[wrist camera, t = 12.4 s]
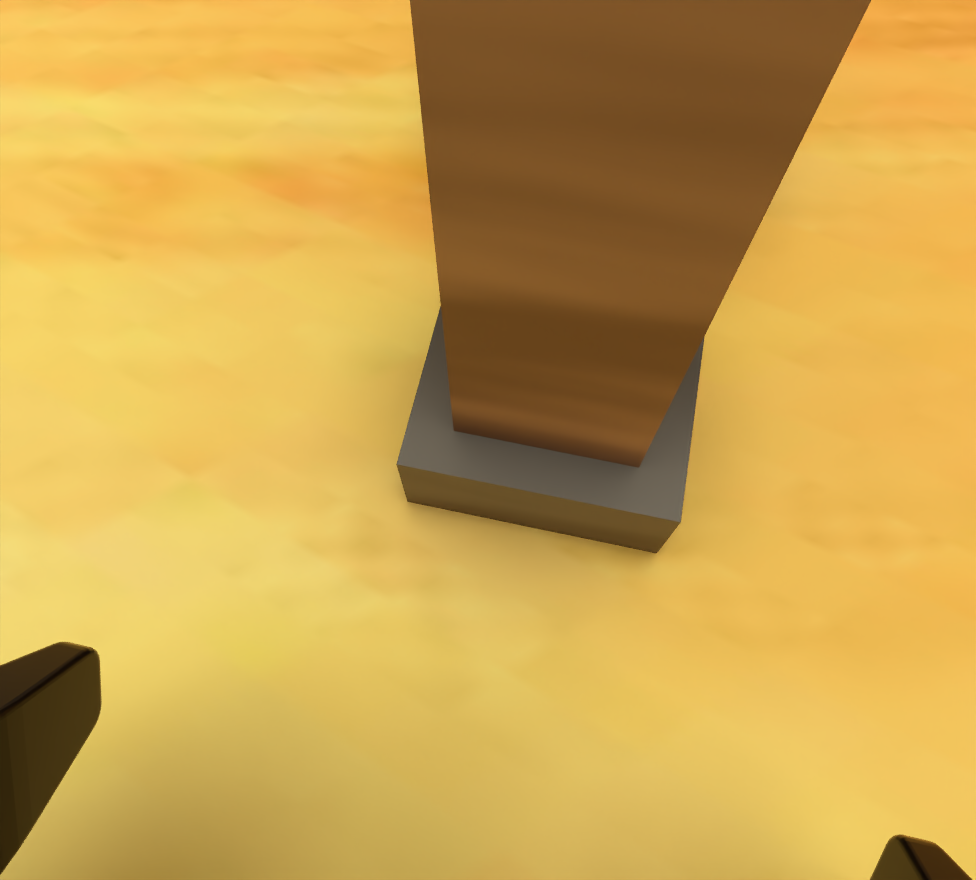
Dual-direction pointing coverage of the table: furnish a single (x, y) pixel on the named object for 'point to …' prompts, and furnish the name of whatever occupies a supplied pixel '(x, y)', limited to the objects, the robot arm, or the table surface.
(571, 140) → the wooden post on base
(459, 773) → the table surface
